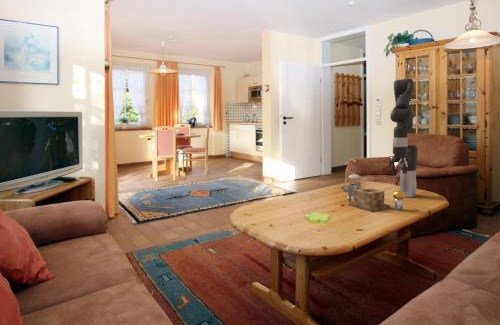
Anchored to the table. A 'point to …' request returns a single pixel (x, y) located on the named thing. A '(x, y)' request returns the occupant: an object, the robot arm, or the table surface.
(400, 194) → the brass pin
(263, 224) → the table surface
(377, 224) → the table surface
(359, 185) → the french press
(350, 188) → the mechanical component
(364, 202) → the hitch block
